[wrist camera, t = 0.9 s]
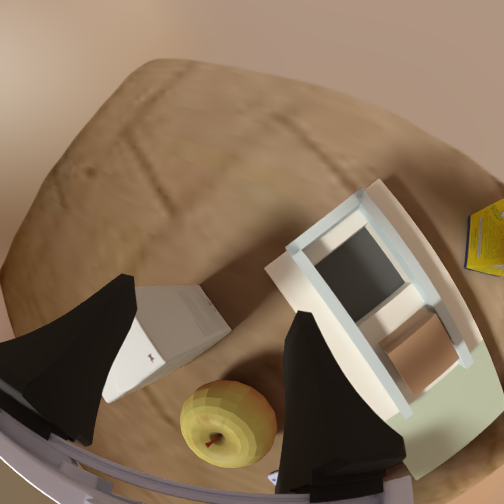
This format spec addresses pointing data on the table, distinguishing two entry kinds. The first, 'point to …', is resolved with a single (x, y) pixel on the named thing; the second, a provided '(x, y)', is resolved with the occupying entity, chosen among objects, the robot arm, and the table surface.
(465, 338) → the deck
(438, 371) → the block
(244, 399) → the apple
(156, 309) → the small box
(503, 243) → the supplement box
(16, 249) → the table surface
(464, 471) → the table surface
